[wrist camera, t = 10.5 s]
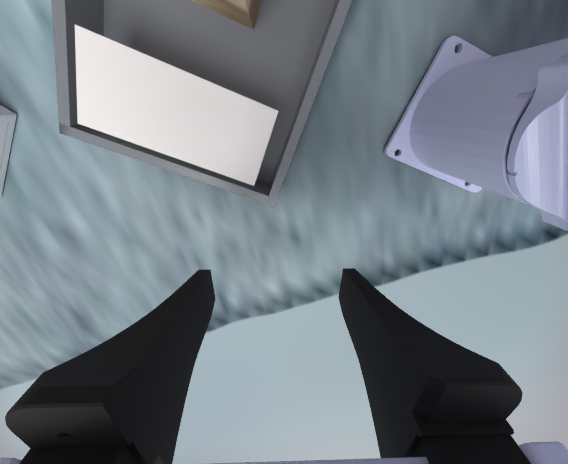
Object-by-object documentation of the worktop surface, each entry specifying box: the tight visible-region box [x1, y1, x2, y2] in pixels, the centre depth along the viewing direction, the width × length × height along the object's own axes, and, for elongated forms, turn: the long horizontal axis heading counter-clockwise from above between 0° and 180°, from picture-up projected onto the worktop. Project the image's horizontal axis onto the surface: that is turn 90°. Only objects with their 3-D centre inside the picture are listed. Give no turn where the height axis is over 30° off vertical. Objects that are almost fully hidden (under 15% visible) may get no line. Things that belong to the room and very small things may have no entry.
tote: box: [52, 0, 352, 206], centre depth 13 cm, size 14×18×4 cm
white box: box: [75, 25, 278, 186], centre depth 15 cm, size 10×5×4 cm, turn 69°
